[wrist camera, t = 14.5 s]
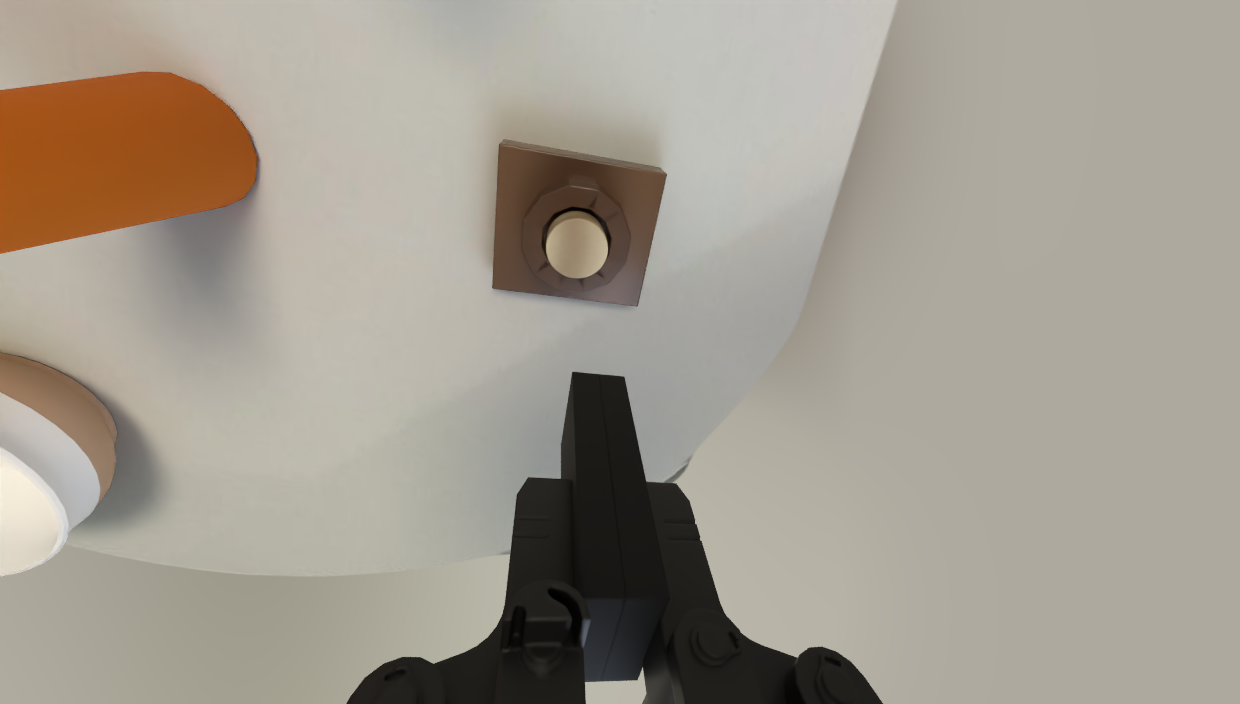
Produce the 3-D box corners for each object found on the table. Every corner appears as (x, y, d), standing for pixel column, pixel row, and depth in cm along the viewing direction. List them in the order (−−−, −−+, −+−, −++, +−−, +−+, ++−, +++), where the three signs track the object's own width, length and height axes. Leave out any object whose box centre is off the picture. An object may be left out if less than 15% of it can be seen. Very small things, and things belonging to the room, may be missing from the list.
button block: (660, 167, 30) (673, 179, 26) (633, 294, 34) (641, 318, 31) (503, 138, 28) (494, 147, 24) (496, 276, 32) (488, 300, 29)
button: (610, 215, 27) (613, 223, 26) (600, 272, 29) (602, 282, 28) (549, 206, 27) (549, 213, 25) (543, 264, 28) (542, 274, 27)
